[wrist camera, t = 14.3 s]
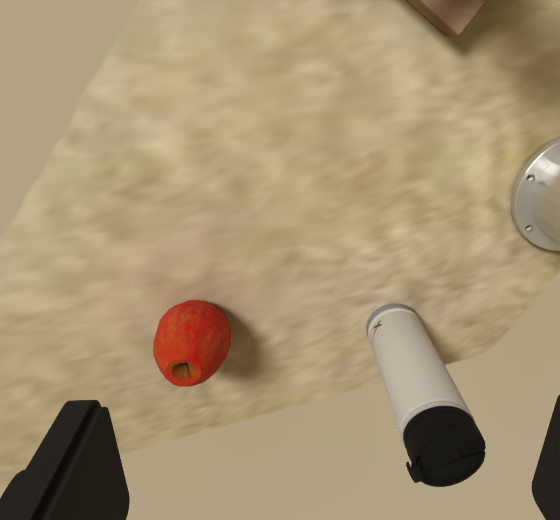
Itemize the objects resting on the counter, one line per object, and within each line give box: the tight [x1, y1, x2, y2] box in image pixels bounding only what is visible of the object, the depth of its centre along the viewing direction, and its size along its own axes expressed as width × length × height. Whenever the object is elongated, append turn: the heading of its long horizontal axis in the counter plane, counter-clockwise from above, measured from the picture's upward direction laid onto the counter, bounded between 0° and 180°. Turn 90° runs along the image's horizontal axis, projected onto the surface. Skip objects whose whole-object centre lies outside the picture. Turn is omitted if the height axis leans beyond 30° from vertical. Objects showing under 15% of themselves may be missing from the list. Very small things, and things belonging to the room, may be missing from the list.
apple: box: [153, 300, 231, 386], centre depth 48 cm, size 8×8×11 cm
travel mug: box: [367, 304, 485, 487], centre depth 45 cm, size 6×7×20 cm
